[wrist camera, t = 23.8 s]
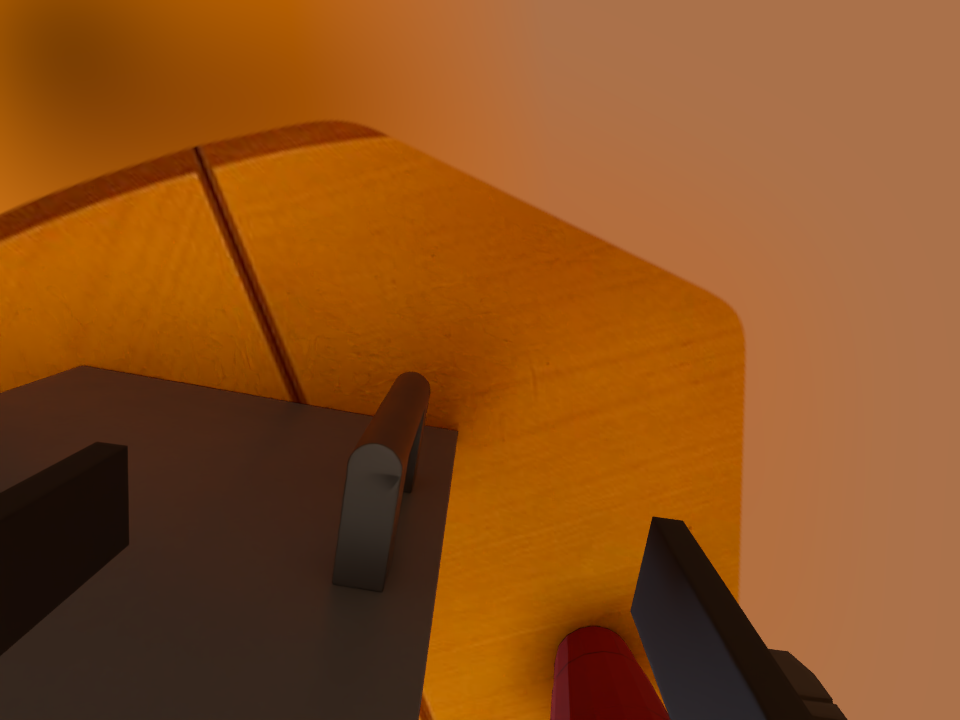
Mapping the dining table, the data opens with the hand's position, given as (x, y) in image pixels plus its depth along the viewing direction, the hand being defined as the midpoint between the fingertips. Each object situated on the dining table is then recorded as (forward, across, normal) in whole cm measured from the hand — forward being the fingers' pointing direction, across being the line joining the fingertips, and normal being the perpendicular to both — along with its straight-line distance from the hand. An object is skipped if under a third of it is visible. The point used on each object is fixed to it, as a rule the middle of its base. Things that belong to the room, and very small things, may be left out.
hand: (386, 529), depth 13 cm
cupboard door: (+24, -12, -3) cm, 27 cm away
